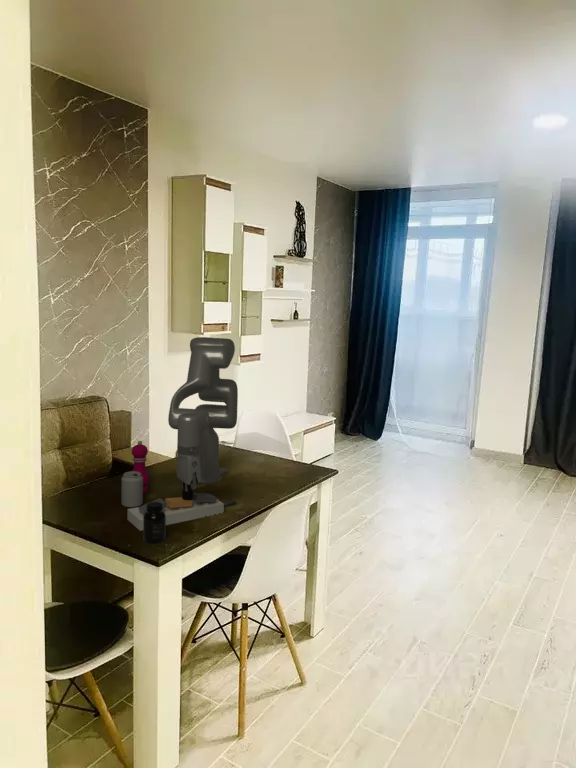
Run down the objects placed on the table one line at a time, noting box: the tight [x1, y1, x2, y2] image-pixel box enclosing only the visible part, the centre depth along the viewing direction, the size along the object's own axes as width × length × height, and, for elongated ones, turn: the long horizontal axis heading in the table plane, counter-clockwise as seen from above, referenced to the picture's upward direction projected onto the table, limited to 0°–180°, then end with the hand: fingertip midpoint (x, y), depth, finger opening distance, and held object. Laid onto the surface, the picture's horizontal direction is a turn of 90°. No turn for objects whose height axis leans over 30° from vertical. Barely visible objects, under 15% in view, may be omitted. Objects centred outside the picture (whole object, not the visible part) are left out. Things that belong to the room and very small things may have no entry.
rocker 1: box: [138, 497, 167, 515], centre depth 200 cm, size 8×5×2 cm, turn 126°
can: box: [120, 470, 144, 509], centre depth 216 cm, size 8×8×12 cm
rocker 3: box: [193, 492, 218, 503], centre depth 211 cm, size 8×5×2 cm, turn 126°
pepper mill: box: [131, 440, 150, 494], centre depth 230 cm, size 7×7×20 cm
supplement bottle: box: [142, 501, 167, 545], centre depth 187 cm, size 7×7×12 cm
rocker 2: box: [164, 496, 193, 508], centre depth 206 cm, size 8×5×2 cm, turn 126°
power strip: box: [126, 499, 237, 532], centre depth 210 cm, size 39×11×5 cm, turn 126°
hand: (187, 501), depth 207 cm, fingers closed
